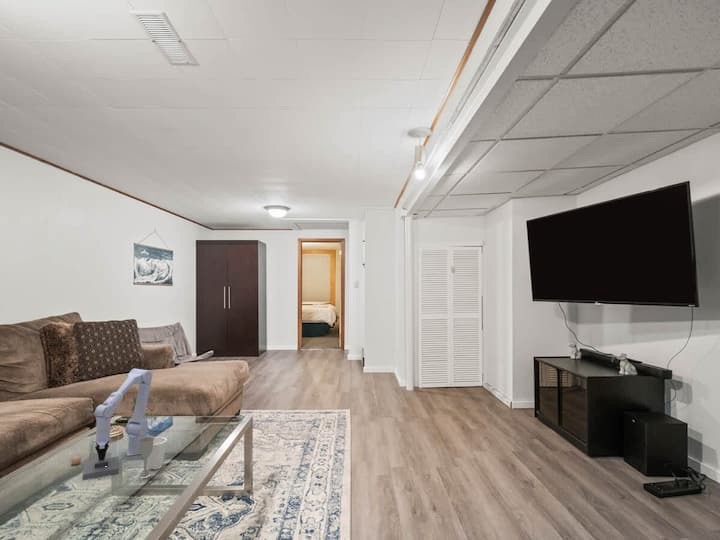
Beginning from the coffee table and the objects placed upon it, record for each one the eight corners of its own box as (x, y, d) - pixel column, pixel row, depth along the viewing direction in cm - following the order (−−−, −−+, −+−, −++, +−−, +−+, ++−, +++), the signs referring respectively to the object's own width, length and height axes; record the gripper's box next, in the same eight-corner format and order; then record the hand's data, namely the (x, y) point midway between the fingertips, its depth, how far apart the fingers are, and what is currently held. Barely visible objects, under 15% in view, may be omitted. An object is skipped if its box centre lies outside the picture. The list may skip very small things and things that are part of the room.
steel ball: (106, 458, 200) (106, 450, 200) (105, 462, 196) (106, 454, 196) (96, 460, 198) (97, 452, 198) (96, 464, 194) (96, 456, 194)
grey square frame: (118, 461, 207) (118, 456, 207) (117, 473, 195) (118, 468, 195) (84, 466, 200) (85, 461, 200) (82, 479, 188) (82, 474, 188)
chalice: (156, 474, 195) (158, 437, 196) (144, 481, 189) (146, 442, 189) (144, 471, 198) (146, 434, 198) (132, 477, 191) (134, 439, 192)
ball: (81, 461, 205) (81, 453, 205) (80, 465, 201) (80, 456, 201) (71, 463, 203) (71, 455, 203) (70, 466, 199) (71, 458, 199)
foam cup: (156, 472, 197) (158, 445, 197) (140, 470, 199) (141, 443, 199) (169, 463, 207) (170, 438, 207) (153, 461, 208) (154, 435, 208)
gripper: (94, 425, 202) (92, 453, 201) (92, 436, 189) (91, 466, 189) (110, 423, 205) (109, 450, 205) (110, 434, 193) (108, 463, 193)
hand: (101, 457), depth 197 cm, fingers closed on steel ball, 4 cm apart
